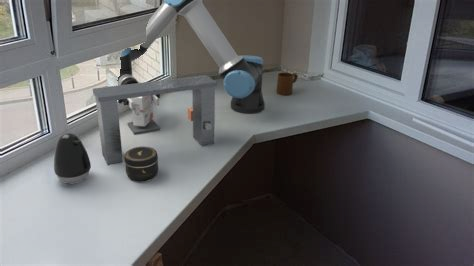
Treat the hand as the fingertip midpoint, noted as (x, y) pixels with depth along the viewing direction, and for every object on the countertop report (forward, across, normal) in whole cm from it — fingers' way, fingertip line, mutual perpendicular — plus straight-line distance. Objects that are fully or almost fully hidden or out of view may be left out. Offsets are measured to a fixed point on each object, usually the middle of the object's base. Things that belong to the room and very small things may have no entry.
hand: (145, 104), depth 152 cm
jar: (+30, +10, -12) cm, 34 cm away
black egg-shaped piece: (+24, +30, -12) cm, 40 cm away
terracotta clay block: (+14, -16, -5) cm, 22 cm away
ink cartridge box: (-5, 0, -9) cm, 10 cm away
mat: (-5, 0, -12) cm, 12 cm away
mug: (-17, -76, -12) cm, 79 cm away
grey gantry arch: (+16, 0, -11) cm, 19 cm away
